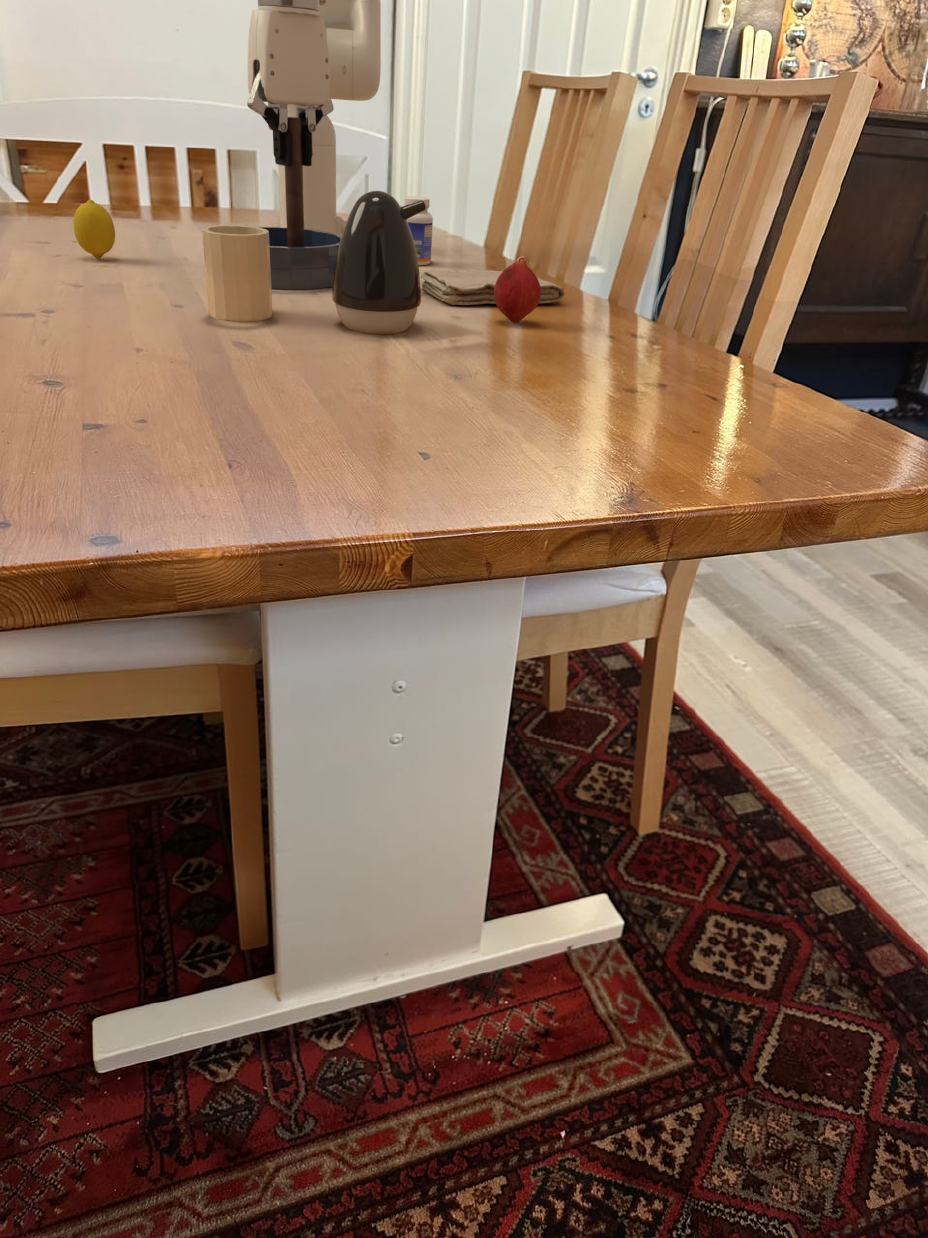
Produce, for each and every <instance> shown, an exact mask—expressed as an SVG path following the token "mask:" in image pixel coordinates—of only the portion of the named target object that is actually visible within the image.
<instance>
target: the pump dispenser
mask: <svg viewBox="0 0 928 1238" xmlns="http://www.w3.org/2000/svg"><path fill="white" fill-rule="evenodd" d="M425 209H426V206H425V203H424V201H418V202H415V203H412V204H409V205H406V206H404V205H403V206H401V205H400V203H399V202H398V201H397V199H396V198H395V197H394V196H392V195H391V194H390V193H388V192H385V191H382V190H371V191H368V192H366V193H364V194H363V195H361V196H360V197H359V198H358V199H357V200H356V202H355V203H354V205H353V207H352V208H351V210H350V212H349V215H348V217H347V220H346V221H347V222H346V225H345V227H344V230H343V233H342V236H341V240H340V243H339V247H338V251H337V256H336V261H335V268H334V276H333V286H332V287H331V288H332V289H331V297H332V298H331V299H332V301H333V303H334V304H335V308H336V312H337V315H338V317H339V319H340V321H341V322H342V324H343V325H344V326H345V327H346V328H347V329H348V330H351V331H354V332H358V333H363V334H371V335H391V334H400V333H403V332H405V331H407V330H408V329H409V327H410V326H411V325H412V323H413V322H414V320H415V318H416V315H417V311H418V307H420V305H421V303H422V284H421V275H420V265H418V259H417V254H416V249H415V245H414V241H413V237H412V234H411V231H410V228H409V225H408V222H407V219H409V218H411V217H413V216H414V215H416V214H418V213H420V212H422V211H424V210H425Z"/></svg>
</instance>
